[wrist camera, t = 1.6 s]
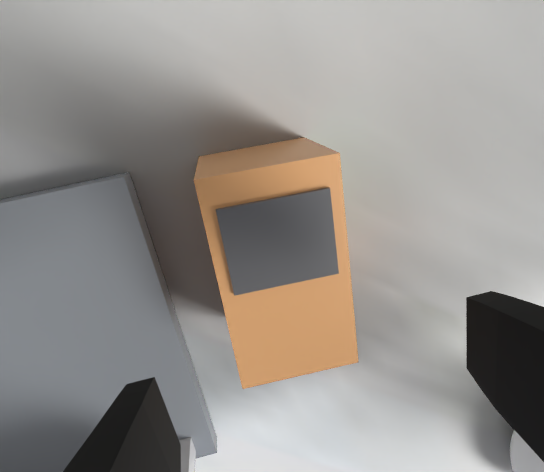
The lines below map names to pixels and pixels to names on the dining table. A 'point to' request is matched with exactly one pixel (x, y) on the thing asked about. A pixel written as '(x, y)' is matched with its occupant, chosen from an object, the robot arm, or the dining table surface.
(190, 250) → the dining table surface
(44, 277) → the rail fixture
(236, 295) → the block
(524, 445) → the flower in vase
